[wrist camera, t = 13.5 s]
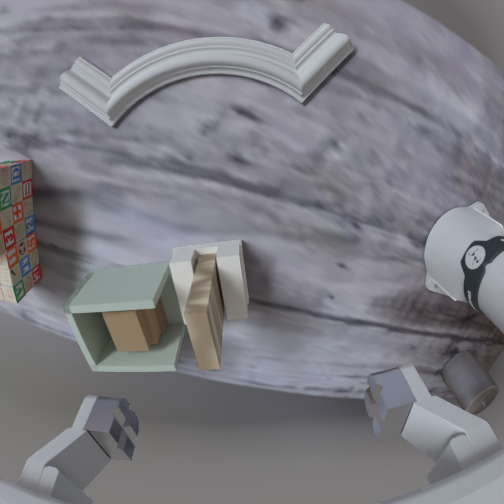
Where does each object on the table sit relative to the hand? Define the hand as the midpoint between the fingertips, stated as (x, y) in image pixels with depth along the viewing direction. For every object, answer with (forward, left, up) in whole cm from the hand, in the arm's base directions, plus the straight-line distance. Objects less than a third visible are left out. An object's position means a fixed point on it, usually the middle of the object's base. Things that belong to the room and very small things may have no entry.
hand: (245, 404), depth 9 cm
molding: (+14, -13, -37) cm, 42 cm away
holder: (-3, +14, -36) cm, 39 cm away
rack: (+6, +24, -36) cm, 44 cm away
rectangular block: (-3, +14, -35) cm, 38 cm away
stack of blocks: (+31, +22, -37) cm, 53 cm away
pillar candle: (-65, +11, -36) cm, 75 cm away
